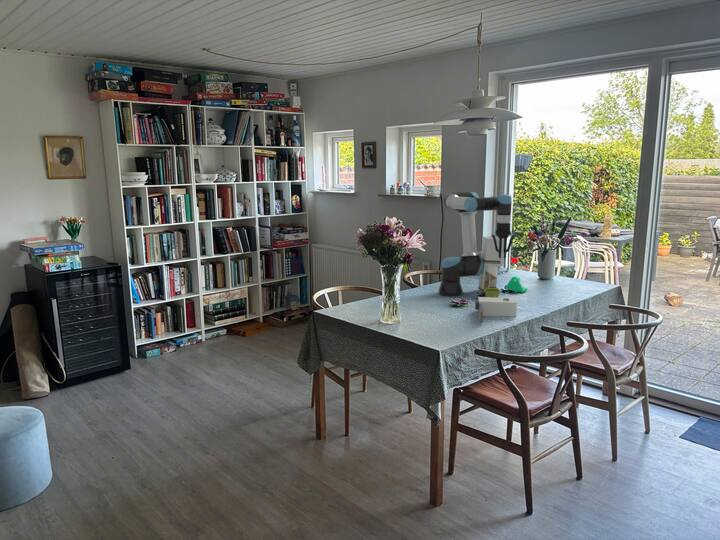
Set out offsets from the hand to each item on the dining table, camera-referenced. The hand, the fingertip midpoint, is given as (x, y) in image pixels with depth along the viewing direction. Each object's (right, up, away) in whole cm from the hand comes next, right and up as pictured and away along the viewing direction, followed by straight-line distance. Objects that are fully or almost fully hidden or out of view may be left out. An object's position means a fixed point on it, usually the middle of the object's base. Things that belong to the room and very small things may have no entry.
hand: (501, 263), depth 307 cm
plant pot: (-2, -24, +15) cm, 28 cm away
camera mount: (+21, -18, +45) cm, 53 cm away
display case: (+3, -18, +43) cm, 47 cm away
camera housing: (-4, -28, -5) cm, 29 cm away
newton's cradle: (+18, -7, +97) cm, 99 cm away
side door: (-16, -30, -17) cm, 38 cm away
